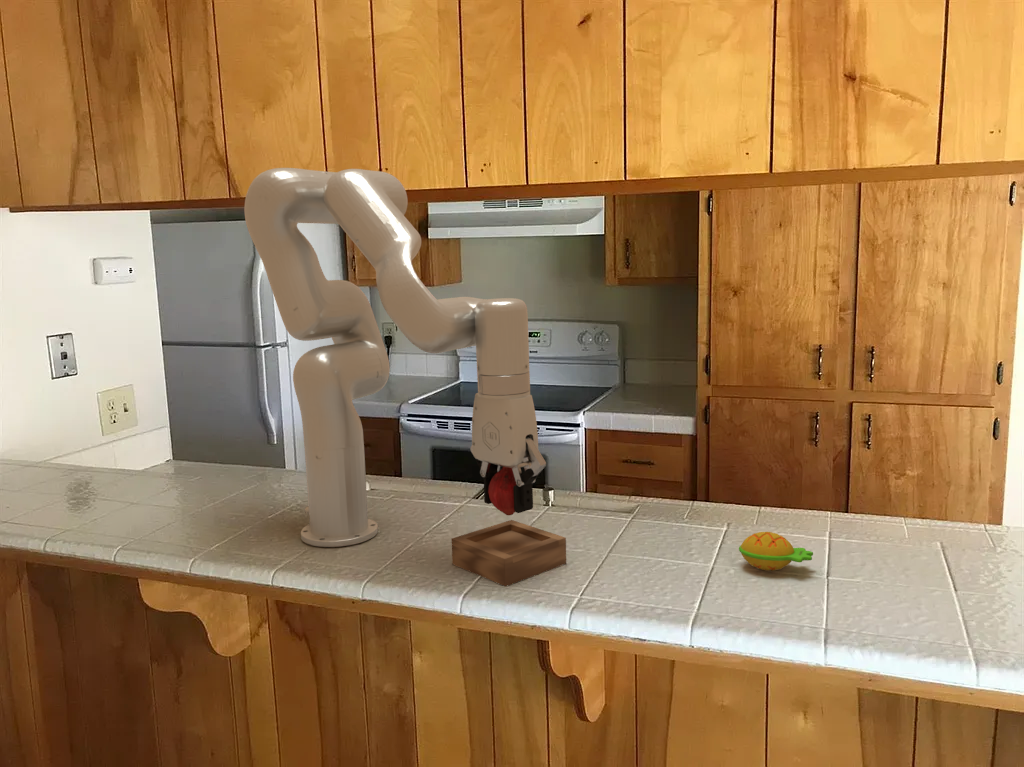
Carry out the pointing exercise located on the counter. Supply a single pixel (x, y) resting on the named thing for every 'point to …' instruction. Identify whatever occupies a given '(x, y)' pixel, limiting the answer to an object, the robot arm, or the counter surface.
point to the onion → (503, 490)
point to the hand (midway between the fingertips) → (508, 505)
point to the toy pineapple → (771, 551)
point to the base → (508, 552)
